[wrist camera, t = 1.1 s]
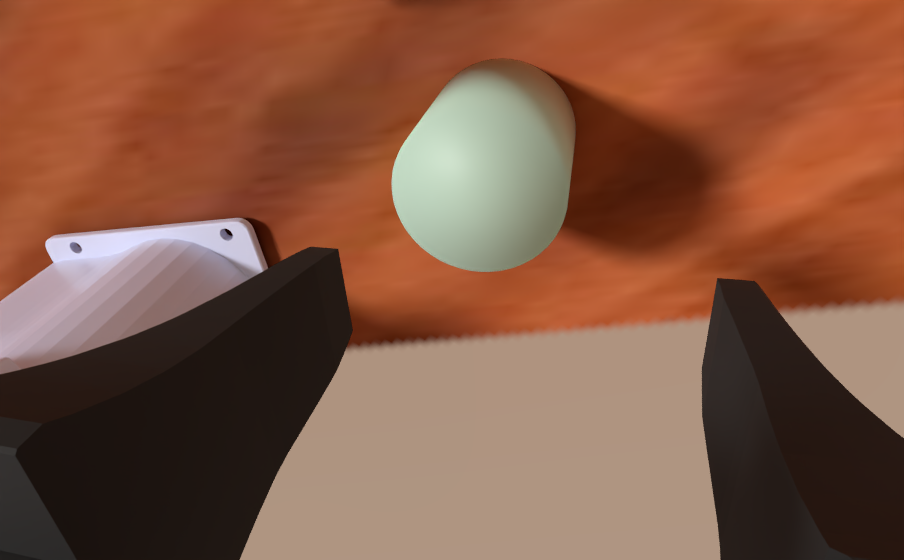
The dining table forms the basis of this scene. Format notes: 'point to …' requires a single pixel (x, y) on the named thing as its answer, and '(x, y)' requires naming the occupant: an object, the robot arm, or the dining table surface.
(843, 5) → the dining table surface
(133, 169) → the dining table surface
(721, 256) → the dining table surface
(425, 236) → the pale green rounded cylinder
